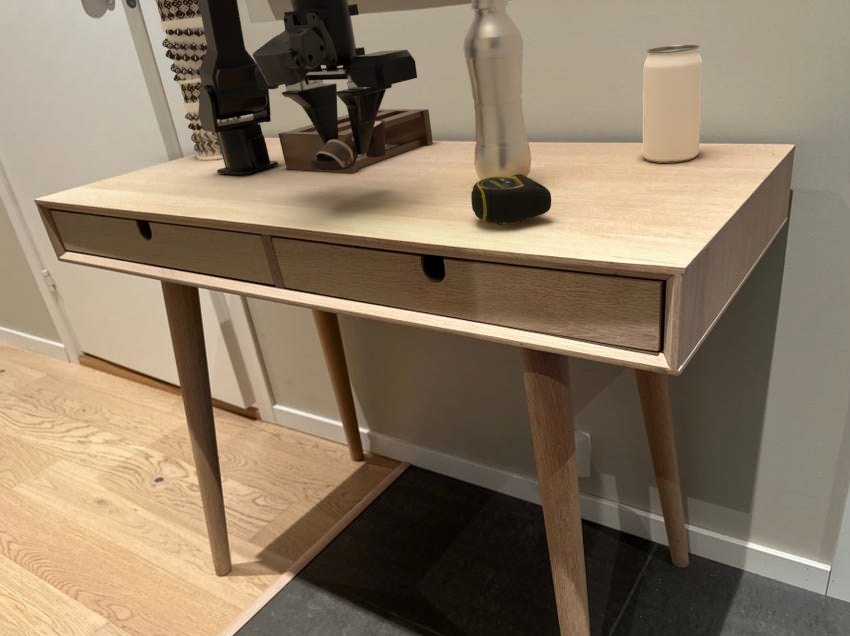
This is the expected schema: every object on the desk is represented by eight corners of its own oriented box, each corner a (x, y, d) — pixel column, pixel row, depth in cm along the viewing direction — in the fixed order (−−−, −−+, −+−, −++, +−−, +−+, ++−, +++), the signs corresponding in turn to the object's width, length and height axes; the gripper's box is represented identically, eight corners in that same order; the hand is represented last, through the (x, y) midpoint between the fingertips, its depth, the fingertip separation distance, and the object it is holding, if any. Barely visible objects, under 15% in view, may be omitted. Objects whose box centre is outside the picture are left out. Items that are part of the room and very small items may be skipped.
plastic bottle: (468, 192, 79) (446, -8, 70) (488, 176, 85) (470, -11, 75) (522, 191, 77) (507, -15, 68) (540, 175, 82) (528, -17, 73)
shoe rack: (286, 169, 101) (278, 133, 99) (369, 141, 114) (364, 109, 111) (352, 173, 94) (345, 134, 92) (433, 143, 107) (428, 109, 105)
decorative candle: (262, 149, 118) (221, -20, 106) (212, 162, 112) (163, -15, 100) (234, 146, 123) (192, -15, 112) (185, 158, 118) (135, -10, 106)
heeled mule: (299, 175, 77) (291, 138, 75) (373, 152, 84) (367, 118, 82) (325, 178, 74) (317, 140, 72) (399, 154, 81) (393, 119, 80)
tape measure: (555, 222, 66) (553, 182, 64) (486, 235, 65) (482, 195, 63) (529, 205, 72) (526, 168, 70) (465, 217, 70) (461, 180, 69)
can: (710, 154, 83) (716, 44, 77) (672, 166, 80) (675, 52, 74) (668, 148, 88) (671, 44, 82) (631, 159, 85) (631, 51, 79)
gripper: (195, 10, 71) (236, 167, 78) (328, -5, 61) (360, 176, 68) (279, 2, 78) (309, 144, 86) (409, -14, 69) (430, 149, 76)
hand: (347, 153), depth 79 cm, fingers closed on heeled mule, 4 cm apart
